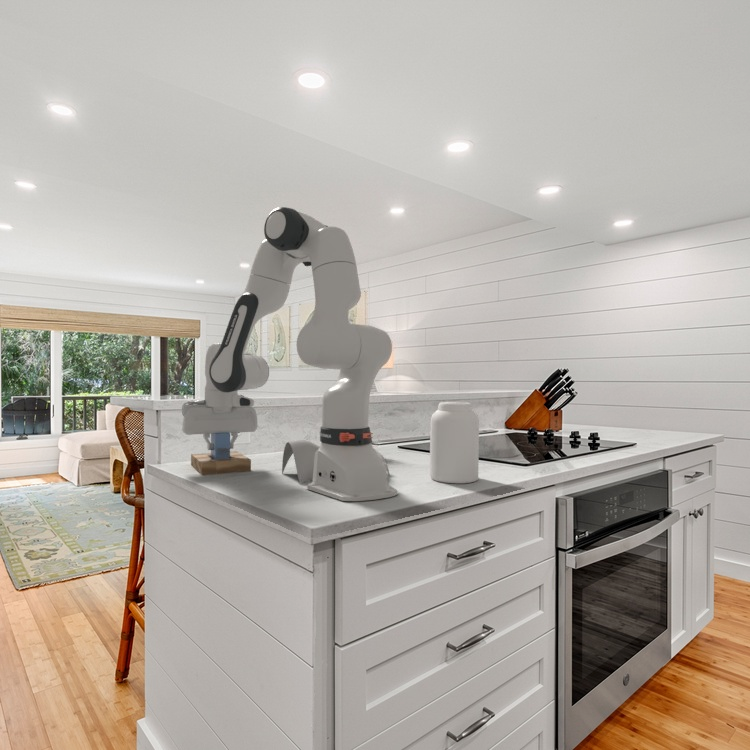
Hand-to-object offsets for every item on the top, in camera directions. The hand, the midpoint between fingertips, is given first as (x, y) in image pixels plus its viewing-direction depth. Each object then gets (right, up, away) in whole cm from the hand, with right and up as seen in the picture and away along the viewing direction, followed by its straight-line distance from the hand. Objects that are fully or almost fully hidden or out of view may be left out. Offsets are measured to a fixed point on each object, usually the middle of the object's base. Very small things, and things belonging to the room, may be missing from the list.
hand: (220, 449), depth 145 cm
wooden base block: (0, -5, 0) cm, 5 cm away
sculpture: (+33, -6, -7) cm, 34 cm away
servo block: (0, -3, 0) cm, 3 cm away
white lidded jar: (+64, -6, -12) cm, 65 cm away
